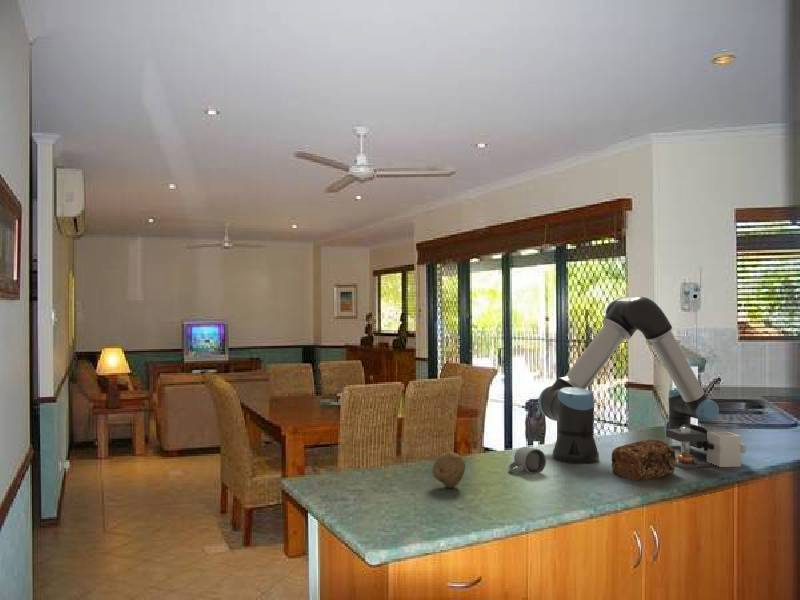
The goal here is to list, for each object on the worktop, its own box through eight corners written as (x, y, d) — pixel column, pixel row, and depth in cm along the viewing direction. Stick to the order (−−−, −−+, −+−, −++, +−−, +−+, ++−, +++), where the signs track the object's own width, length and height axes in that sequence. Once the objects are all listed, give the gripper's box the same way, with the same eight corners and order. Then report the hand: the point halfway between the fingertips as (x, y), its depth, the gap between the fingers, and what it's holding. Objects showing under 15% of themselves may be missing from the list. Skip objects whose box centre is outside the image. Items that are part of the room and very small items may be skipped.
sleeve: (719, 467, 218) (719, 436, 218) (706, 461, 226) (706, 431, 226) (741, 466, 219) (741, 435, 219) (727, 461, 226) (727, 431, 227)
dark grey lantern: (687, 469, 215) (687, 431, 215) (662, 462, 224) (662, 426, 224) (709, 466, 219) (709, 429, 219) (683, 459, 228) (683, 424, 228)
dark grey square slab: (679, 441, 217) (680, 434, 217) (666, 436, 226) (666, 429, 226) (705, 441, 218) (705, 433, 218) (691, 436, 227) (691, 428, 227)
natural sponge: (438, 492, 184) (438, 456, 184) (428, 484, 193) (428, 449, 193) (469, 490, 186) (469, 454, 187) (458, 482, 195) (458, 448, 195)
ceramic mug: (532, 467, 215) (532, 443, 215) (546, 473, 207) (546, 448, 207) (503, 470, 211) (502, 446, 211) (516, 476, 204) (516, 451, 204)
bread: (647, 467, 217) (648, 436, 217) (677, 474, 208) (677, 442, 208) (609, 475, 207) (609, 442, 207) (639, 482, 198) (639, 448, 198)
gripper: (720, 445, 241) (762, 460, 219) (666, 446, 239) (703, 461, 216) (720, 424, 242) (762, 437, 219) (667, 425, 239) (703, 437, 216)
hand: (732, 449), depth 218 cm, fingers closed on sleeve, 7 cm apart
